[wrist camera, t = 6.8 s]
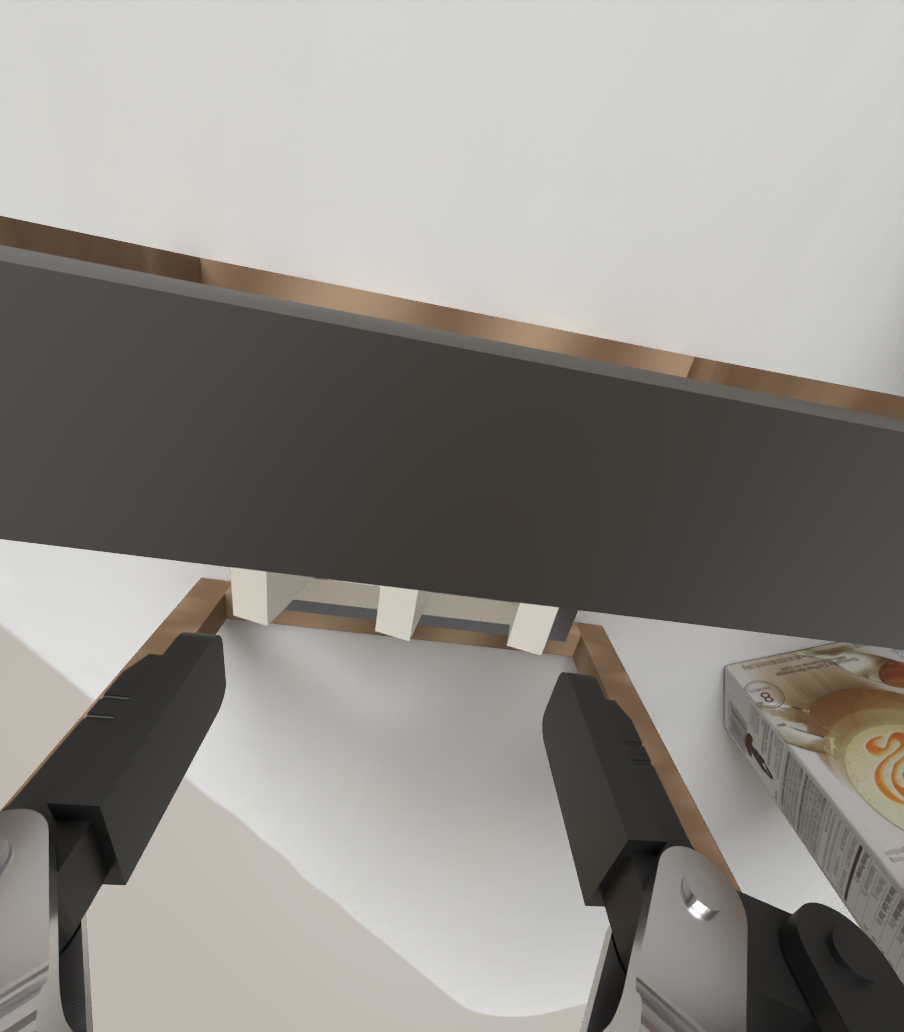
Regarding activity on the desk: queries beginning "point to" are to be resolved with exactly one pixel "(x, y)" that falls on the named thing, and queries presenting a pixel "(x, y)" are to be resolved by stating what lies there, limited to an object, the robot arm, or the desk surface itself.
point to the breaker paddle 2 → (530, 626)
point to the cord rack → (434, 460)
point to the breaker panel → (437, 613)
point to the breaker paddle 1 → (263, 593)
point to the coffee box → (834, 768)
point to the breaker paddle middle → (400, 611)
